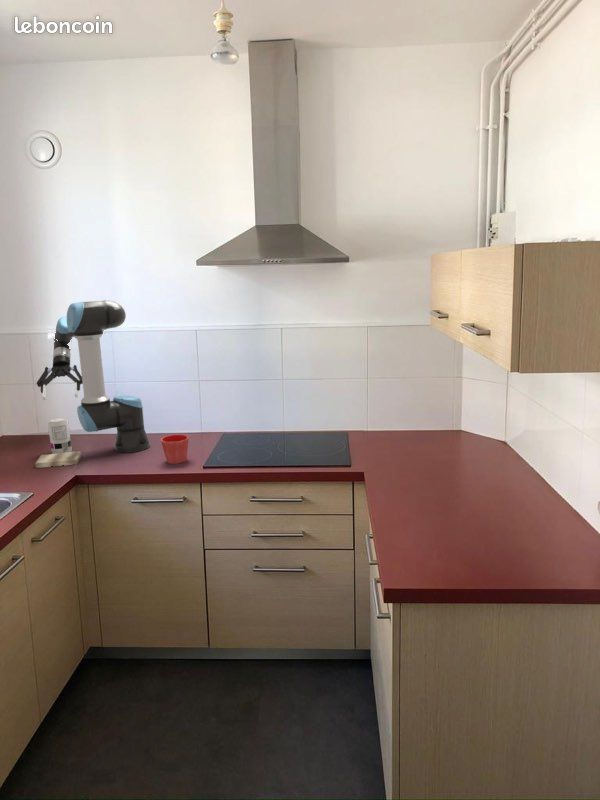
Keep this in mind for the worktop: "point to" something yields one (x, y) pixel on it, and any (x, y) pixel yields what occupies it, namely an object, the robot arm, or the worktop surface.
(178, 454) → the flower pot
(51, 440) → the supplement can
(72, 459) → the birch board
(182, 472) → the worktop surface
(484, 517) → the worktop surface
